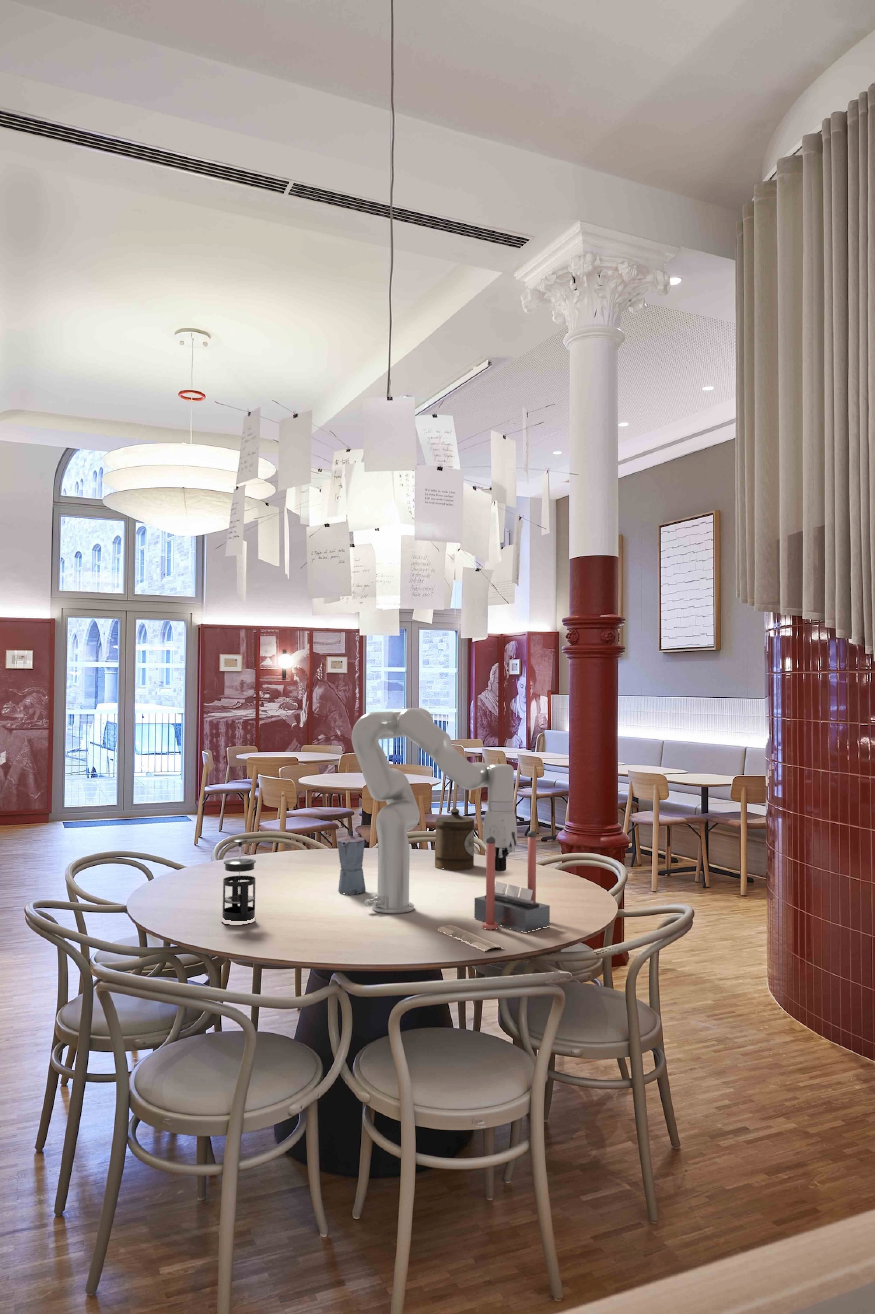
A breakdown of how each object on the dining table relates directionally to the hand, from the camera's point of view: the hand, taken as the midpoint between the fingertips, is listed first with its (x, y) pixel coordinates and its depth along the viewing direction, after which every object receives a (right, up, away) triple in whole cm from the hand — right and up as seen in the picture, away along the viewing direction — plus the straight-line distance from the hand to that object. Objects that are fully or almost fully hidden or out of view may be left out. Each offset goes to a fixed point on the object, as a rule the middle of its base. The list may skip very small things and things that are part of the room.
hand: (500, 870), depth 248 cm
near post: (-4, -14, -10) cm, 17 cm away
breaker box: (+3, -14, -4) cm, 15 cm away
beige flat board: (-10, -14, -22) cm, 28 cm away
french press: (-74, -13, -6) cm, 76 cm away
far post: (+9, -14, +2) cm, 17 cm away
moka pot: (-46, -16, +34) cm, 60 cm away
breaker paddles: (+3, -7, -4) cm, 8 cm away
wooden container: (-12, -18, +78) cm, 80 cm away
